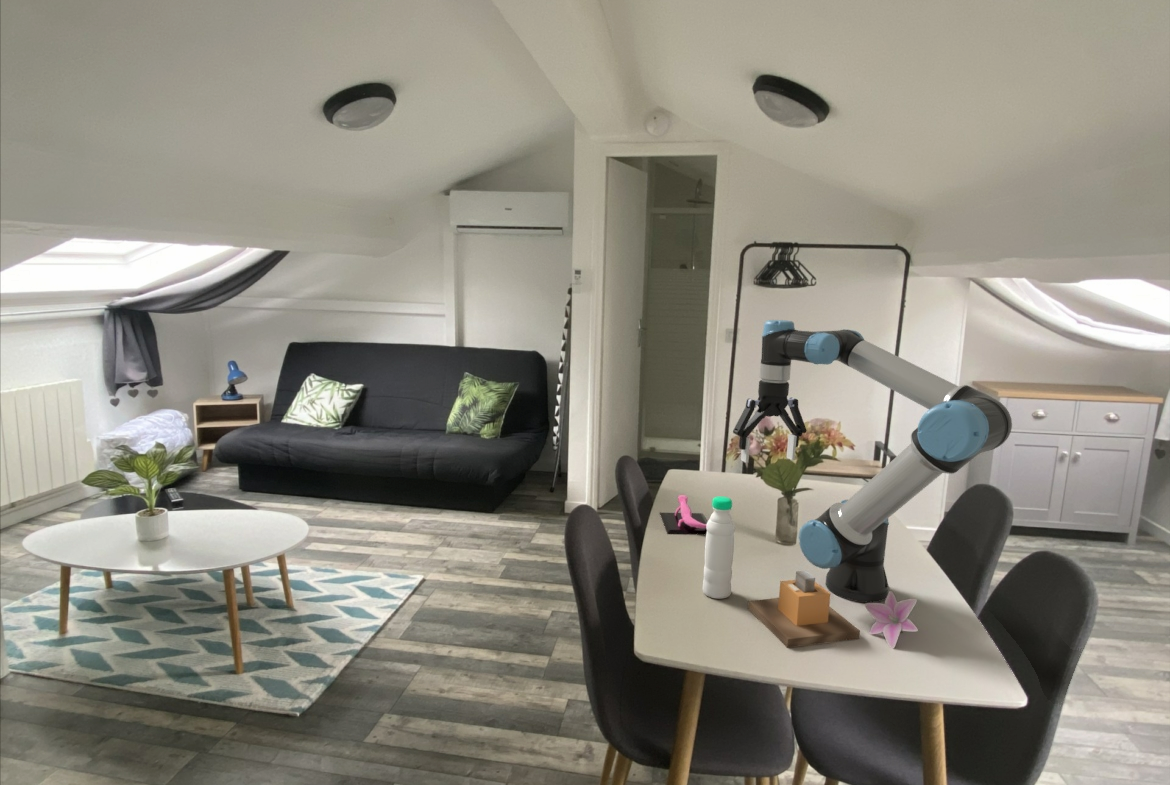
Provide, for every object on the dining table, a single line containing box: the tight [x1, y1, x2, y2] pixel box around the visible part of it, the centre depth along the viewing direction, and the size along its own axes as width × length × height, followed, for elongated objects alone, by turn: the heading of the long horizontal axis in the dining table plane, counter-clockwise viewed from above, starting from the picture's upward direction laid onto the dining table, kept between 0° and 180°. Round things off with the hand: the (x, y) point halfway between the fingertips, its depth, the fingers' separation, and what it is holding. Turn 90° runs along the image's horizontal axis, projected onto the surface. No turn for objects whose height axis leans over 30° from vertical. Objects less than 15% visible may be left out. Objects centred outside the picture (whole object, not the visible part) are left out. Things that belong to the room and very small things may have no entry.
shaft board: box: [747, 570, 861, 648], centre depth 160 cm, size 18×18×12 cm
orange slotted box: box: [778, 579, 832, 626], centre depth 160 cm, size 8×8×7 cm
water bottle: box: [702, 496, 736, 600], centre depth 172 cm, size 7×7×25 cm
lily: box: [864, 590, 919, 649], centre depth 155 cm, size 12×12×10 cm
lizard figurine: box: [659, 494, 708, 536], centre depth 223 cm, size 15×20×7 cm
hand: (767, 460), depth 182 cm, fingers open, 13 cm apart
